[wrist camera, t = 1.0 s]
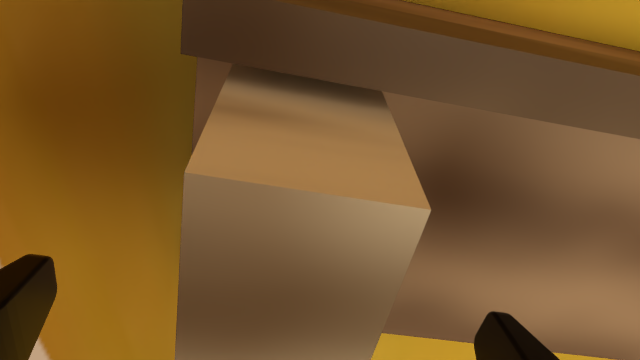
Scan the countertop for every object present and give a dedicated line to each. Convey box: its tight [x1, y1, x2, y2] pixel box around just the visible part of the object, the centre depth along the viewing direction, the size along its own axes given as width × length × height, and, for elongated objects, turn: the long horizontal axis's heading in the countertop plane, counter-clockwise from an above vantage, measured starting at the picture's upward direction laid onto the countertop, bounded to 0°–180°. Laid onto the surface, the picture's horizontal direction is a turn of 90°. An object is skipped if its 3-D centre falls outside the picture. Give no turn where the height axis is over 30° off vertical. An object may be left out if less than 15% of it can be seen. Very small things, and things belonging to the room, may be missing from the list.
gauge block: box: [175, 64, 431, 360], centre depth 12 cm, size 9×4×6 cm, turn 169°
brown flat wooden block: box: [181, 0, 640, 360], centre depth 15 cm, size 12×24×4 cm, turn 79°
